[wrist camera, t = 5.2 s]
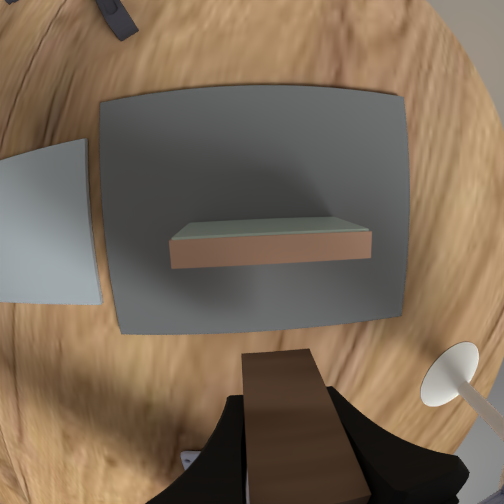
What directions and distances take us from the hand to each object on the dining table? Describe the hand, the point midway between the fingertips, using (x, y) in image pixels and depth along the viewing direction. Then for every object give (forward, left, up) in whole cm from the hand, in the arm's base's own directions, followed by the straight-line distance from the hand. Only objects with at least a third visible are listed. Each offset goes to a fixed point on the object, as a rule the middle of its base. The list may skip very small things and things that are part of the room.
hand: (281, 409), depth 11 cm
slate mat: (+7, 0, -7) cm, 10 cm away
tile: (+6, 0, -7) cm, 9 cm away
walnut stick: (0, 0, -2) cm, 2 cm away
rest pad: (+7, +15, -7) cm, 18 cm away
